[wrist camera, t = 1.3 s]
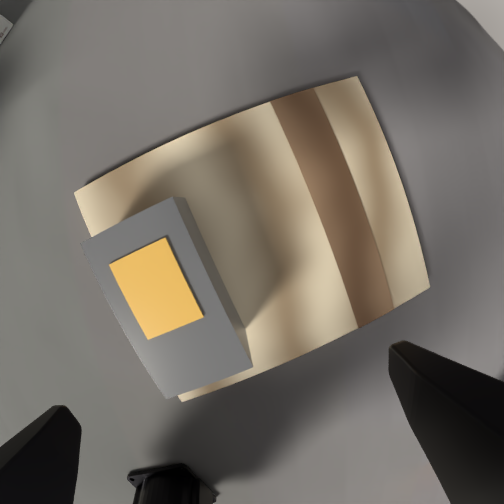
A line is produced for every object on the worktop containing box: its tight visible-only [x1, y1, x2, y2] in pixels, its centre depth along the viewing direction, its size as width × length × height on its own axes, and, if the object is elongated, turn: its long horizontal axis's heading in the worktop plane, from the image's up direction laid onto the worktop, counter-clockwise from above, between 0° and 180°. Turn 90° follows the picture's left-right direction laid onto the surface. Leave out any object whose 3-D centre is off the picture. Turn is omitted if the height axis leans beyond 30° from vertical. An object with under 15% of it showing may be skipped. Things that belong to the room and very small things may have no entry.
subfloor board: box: [74, 76, 430, 402], centre depth 20 cm, size 20×16×1 cm
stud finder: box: [80, 197, 253, 399], centre depth 17 cm, size 5×9×5 cm, turn 23°
